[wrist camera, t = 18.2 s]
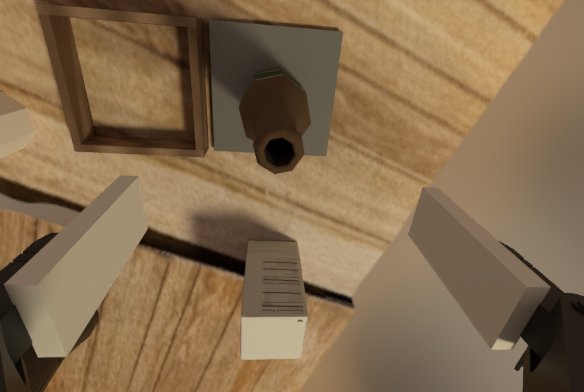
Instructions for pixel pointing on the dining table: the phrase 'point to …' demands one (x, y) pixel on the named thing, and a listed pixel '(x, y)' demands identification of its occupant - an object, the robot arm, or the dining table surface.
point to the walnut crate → (75, 92)
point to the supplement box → (273, 302)
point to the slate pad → (266, 55)
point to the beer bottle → (275, 119)
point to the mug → (14, 125)
